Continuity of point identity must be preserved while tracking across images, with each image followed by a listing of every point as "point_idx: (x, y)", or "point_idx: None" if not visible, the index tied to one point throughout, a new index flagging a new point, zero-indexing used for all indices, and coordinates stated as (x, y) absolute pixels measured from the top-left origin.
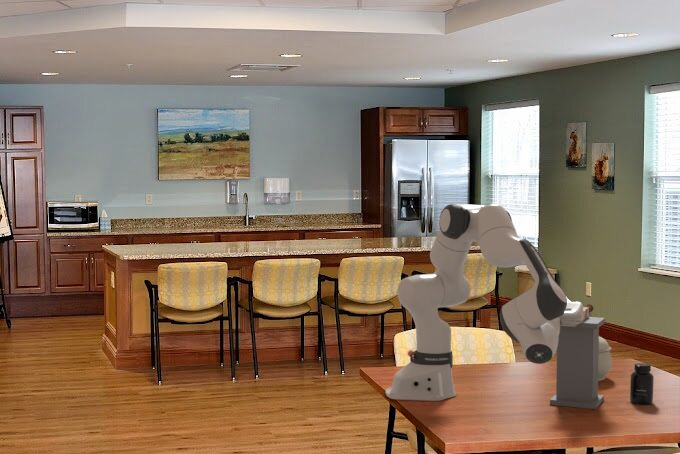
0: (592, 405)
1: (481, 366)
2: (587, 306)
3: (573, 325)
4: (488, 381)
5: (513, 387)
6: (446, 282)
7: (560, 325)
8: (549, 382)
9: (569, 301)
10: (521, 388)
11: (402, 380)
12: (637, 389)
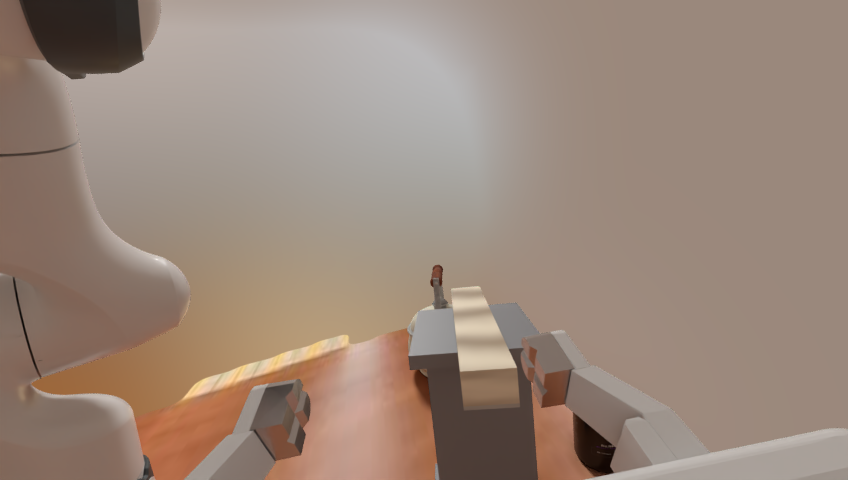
0: None
1: (309, 367)
2: (437, 269)
3: (514, 403)
4: (303, 428)
5: (344, 448)
6: (35, 295)
7: (438, 365)
8: (404, 398)
9: (655, 406)
10: (359, 449)
11: None
12: (603, 444)
